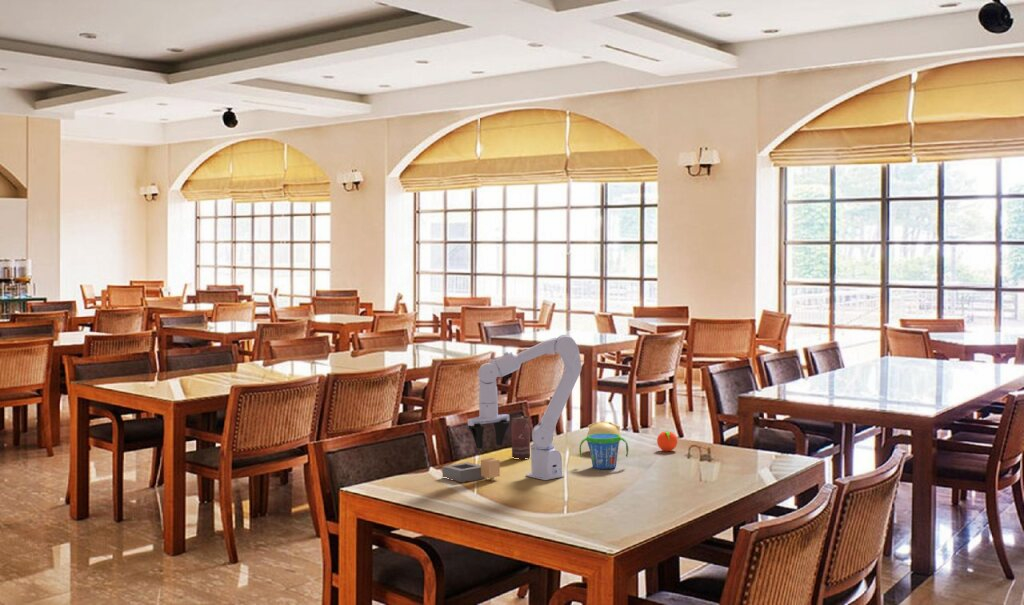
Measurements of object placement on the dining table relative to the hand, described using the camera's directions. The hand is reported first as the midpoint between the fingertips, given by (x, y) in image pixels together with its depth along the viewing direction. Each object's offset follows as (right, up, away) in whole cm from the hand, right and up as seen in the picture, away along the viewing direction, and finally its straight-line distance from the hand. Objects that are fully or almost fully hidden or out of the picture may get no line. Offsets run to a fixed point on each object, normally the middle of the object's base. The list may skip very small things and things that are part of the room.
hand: (489, 446), depth 303 cm
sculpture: (+39, -8, +40) cm, 56 cm away
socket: (-8, -10, 0) cm, 12 cm away
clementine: (+61, -7, +38) cm, 72 cm away
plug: (0, -10, -4) cm, 10 cm away
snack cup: (+36, -9, +12) cm, 39 cm away
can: (+10, -9, +31) cm, 34 cm away
